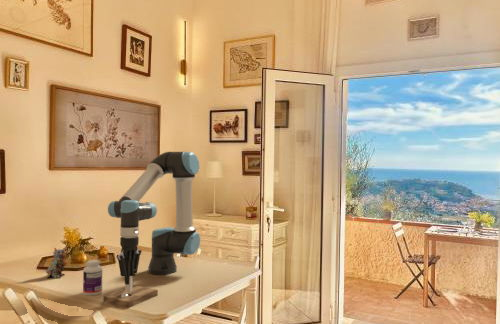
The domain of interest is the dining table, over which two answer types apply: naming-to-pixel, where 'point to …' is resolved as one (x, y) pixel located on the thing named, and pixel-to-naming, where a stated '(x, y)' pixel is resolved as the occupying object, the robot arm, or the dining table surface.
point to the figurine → (57, 264)
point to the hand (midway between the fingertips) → (128, 291)
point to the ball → (124, 295)
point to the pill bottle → (92, 278)
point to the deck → (131, 296)
